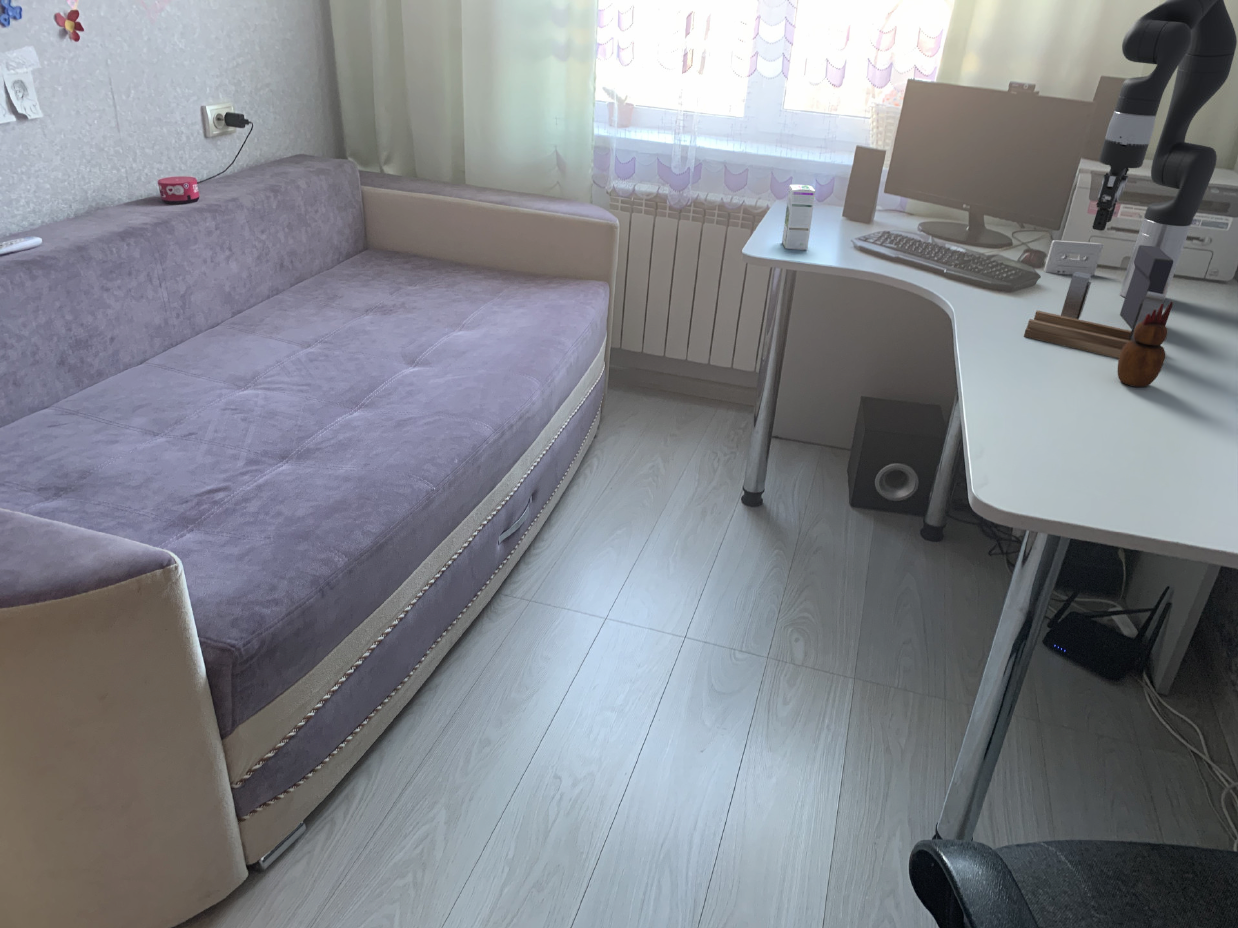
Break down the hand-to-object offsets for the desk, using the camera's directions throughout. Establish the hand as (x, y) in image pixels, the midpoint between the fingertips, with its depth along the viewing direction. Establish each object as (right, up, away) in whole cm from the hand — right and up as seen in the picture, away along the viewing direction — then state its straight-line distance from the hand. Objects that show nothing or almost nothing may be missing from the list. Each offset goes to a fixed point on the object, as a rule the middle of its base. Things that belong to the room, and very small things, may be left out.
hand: (1101, 225), depth 182 cm
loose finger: (-2, -17, +10) cm, 20 cm away
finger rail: (-3, -23, -1) cm, 23 cm away
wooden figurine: (-4, -33, -18) cm, 37 cm away
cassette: (+14, -1, +43) cm, 46 cm away
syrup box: (-50, +7, +50) cm, 72 cm away
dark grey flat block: (+13, -18, +12) cm, 25 cm away
